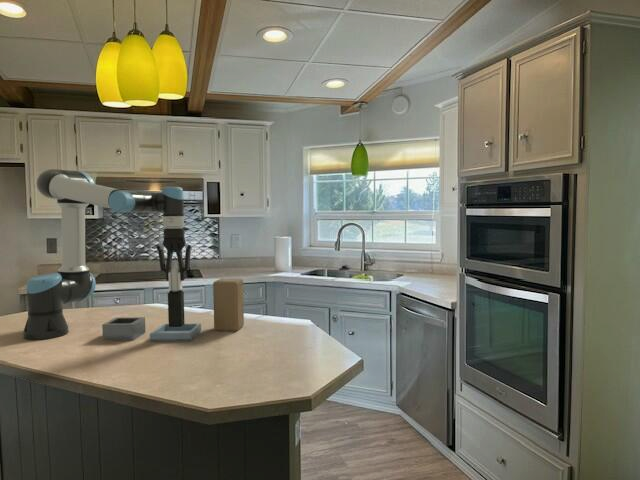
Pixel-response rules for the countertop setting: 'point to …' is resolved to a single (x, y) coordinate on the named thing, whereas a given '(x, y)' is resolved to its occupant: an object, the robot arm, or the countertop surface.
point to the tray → (175, 332)
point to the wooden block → (228, 304)
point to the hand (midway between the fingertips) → (175, 289)
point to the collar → (123, 328)
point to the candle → (175, 301)
